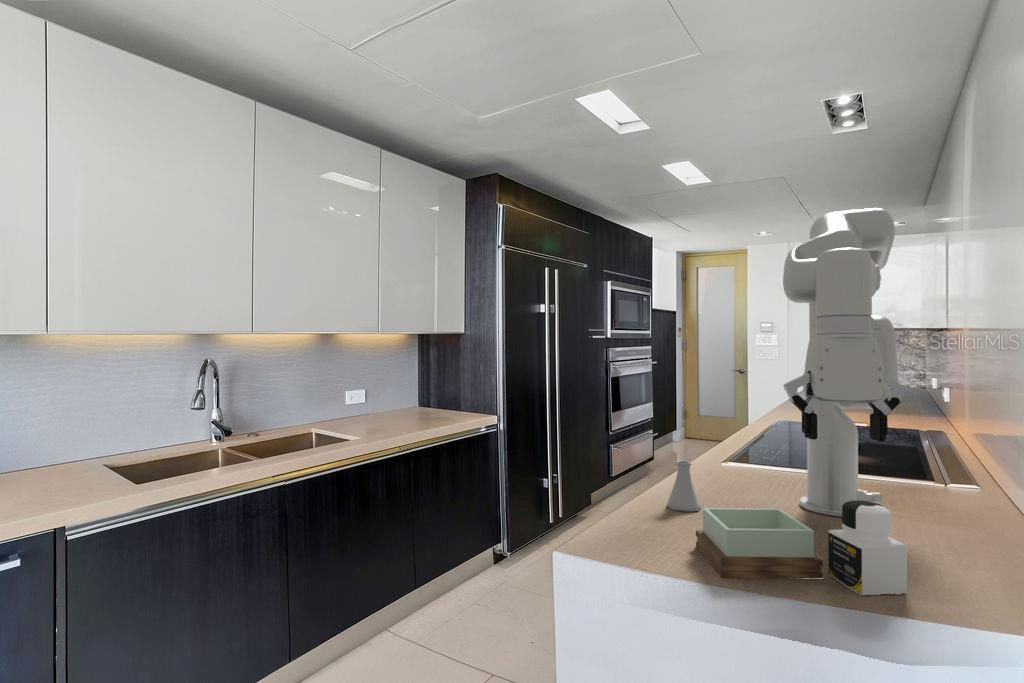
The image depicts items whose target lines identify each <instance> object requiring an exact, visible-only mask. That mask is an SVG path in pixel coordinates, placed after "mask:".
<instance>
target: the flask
mask: <svg viewBox="0 0 1024 683" xmlns="http://www.w3.org/2000/svg"><path fill="white" fill-rule="evenodd" d="M691 465H692V462H691V461H688V460H677V461H676V466H677V468H676V469H677V470H676V471H677V473H676V479H675V481H674V484H673V488H672V490H671V493H670V495H669V499H668V501H667V503H666V507H667V508H669V509H671V510H675V511H680V512H699V511H700V510H701V509H702V505H701V503H700V500H699V497H698V495H697V493H696V490H695V489H696V488H695V486H694V484H693V481H692V475H691Z"/></svg>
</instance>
